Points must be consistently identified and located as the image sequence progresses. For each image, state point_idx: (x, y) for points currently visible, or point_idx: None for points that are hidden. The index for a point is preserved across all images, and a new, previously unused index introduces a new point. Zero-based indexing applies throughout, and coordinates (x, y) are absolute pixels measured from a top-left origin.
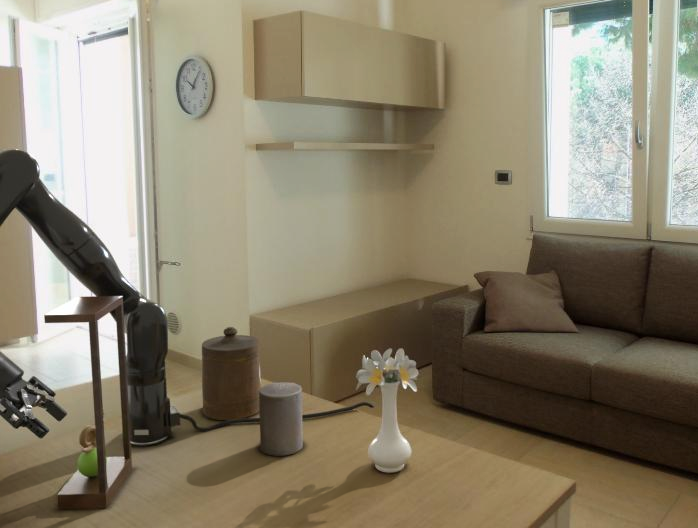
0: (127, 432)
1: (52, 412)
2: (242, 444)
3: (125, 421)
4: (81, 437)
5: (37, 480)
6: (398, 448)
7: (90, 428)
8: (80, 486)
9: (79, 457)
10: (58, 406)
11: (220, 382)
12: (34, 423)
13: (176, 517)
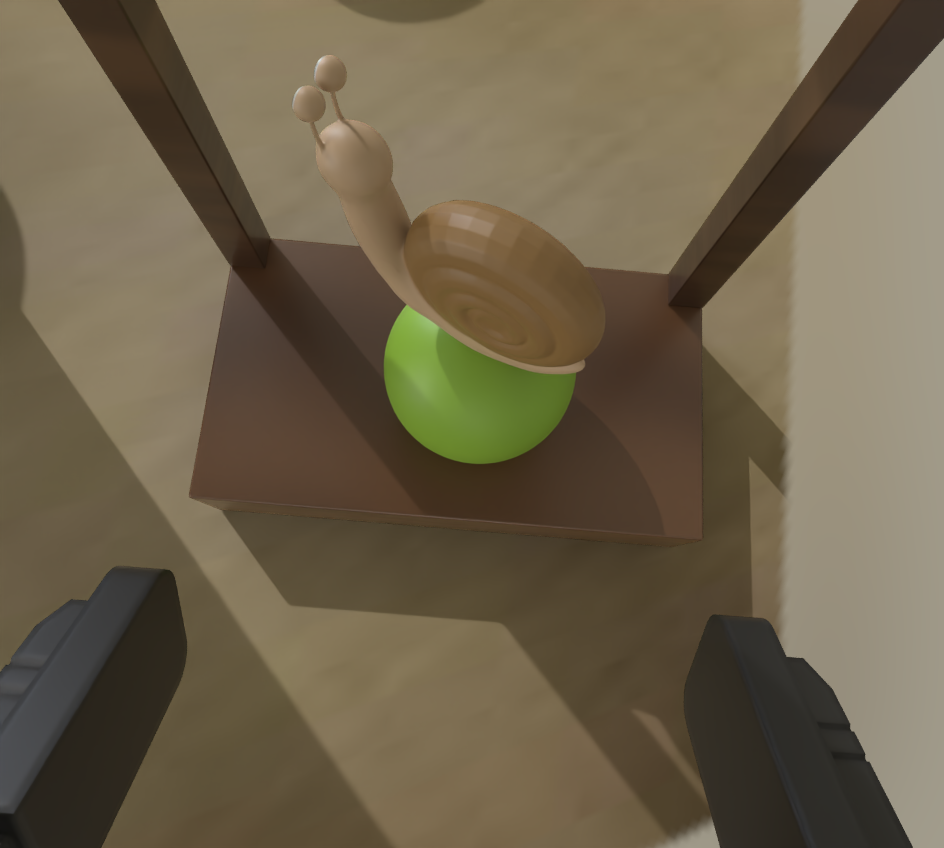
0: (214, 130)
1: (111, 778)
2: None
3: (176, 70)
4: (604, 318)
5: (284, 802)
6: None
7: (533, 224)
8: (611, 430)
9: (511, 426)
10: (61, 691)
11: None
12: (880, 830)
13: (770, 25)
